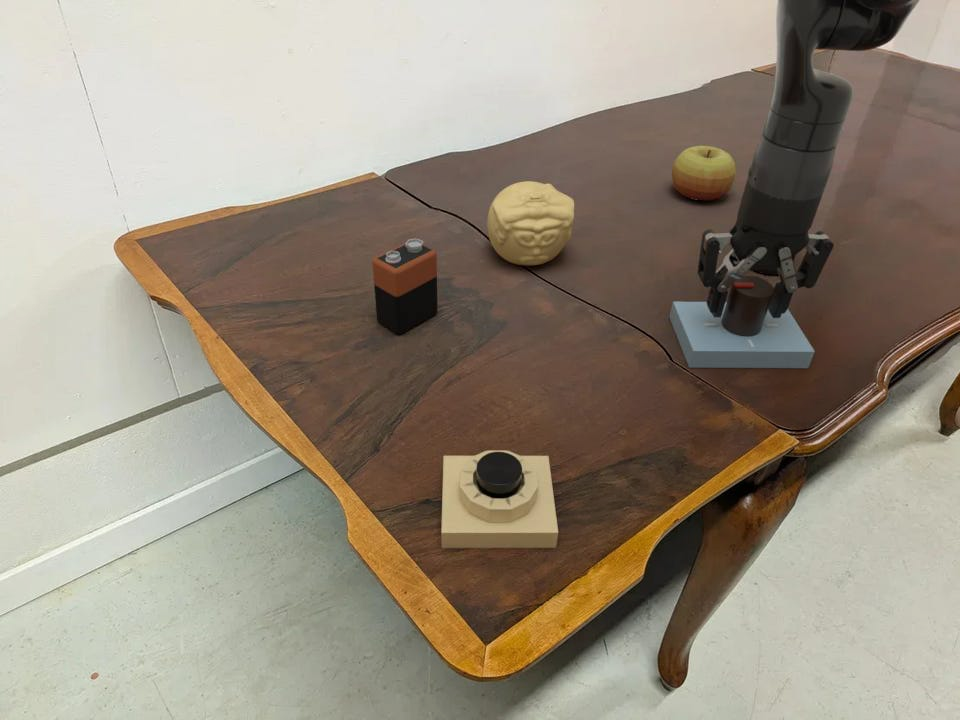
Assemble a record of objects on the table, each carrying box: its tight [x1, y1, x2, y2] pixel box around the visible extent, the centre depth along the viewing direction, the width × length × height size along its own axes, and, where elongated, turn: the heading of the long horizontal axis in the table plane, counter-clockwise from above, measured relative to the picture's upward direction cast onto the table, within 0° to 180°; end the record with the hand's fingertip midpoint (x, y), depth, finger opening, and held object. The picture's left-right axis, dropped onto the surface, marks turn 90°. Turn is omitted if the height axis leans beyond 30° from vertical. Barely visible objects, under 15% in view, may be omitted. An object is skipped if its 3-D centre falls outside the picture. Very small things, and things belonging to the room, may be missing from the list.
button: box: [476, 452, 522, 498], centre depth 62 cm, size 4×4×2 cm
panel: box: [669, 301, 816, 369], centre depth 85 cm, size 14×10×3 cm
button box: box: [440, 449, 559, 549], centre depth 64 cm, size 10×9×4 cm
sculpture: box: [486, 180, 575, 267], centre depth 98 cm, size 12×12×11 cm
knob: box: [721, 275, 775, 336], centre depth 83 cm, size 5×5×6 cm
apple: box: [671, 145, 737, 201], centre depth 115 cm, size 10×10×8 cm
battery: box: [371, 238, 438, 335], centre depth 85 cm, size 4×7×10 cm, turn 137°
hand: (744, 313), depth 83 cm, fingers open, 6 cm apart
